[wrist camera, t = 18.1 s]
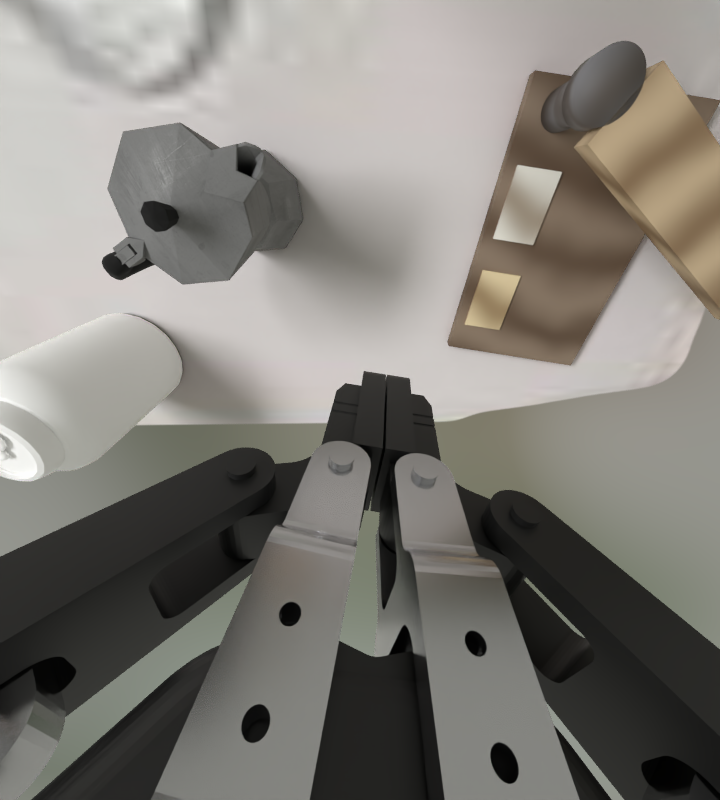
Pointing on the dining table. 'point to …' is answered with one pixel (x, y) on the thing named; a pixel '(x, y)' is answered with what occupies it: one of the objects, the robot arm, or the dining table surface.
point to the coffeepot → (197, 204)
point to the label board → (546, 239)
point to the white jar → (81, 393)
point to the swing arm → (652, 158)
